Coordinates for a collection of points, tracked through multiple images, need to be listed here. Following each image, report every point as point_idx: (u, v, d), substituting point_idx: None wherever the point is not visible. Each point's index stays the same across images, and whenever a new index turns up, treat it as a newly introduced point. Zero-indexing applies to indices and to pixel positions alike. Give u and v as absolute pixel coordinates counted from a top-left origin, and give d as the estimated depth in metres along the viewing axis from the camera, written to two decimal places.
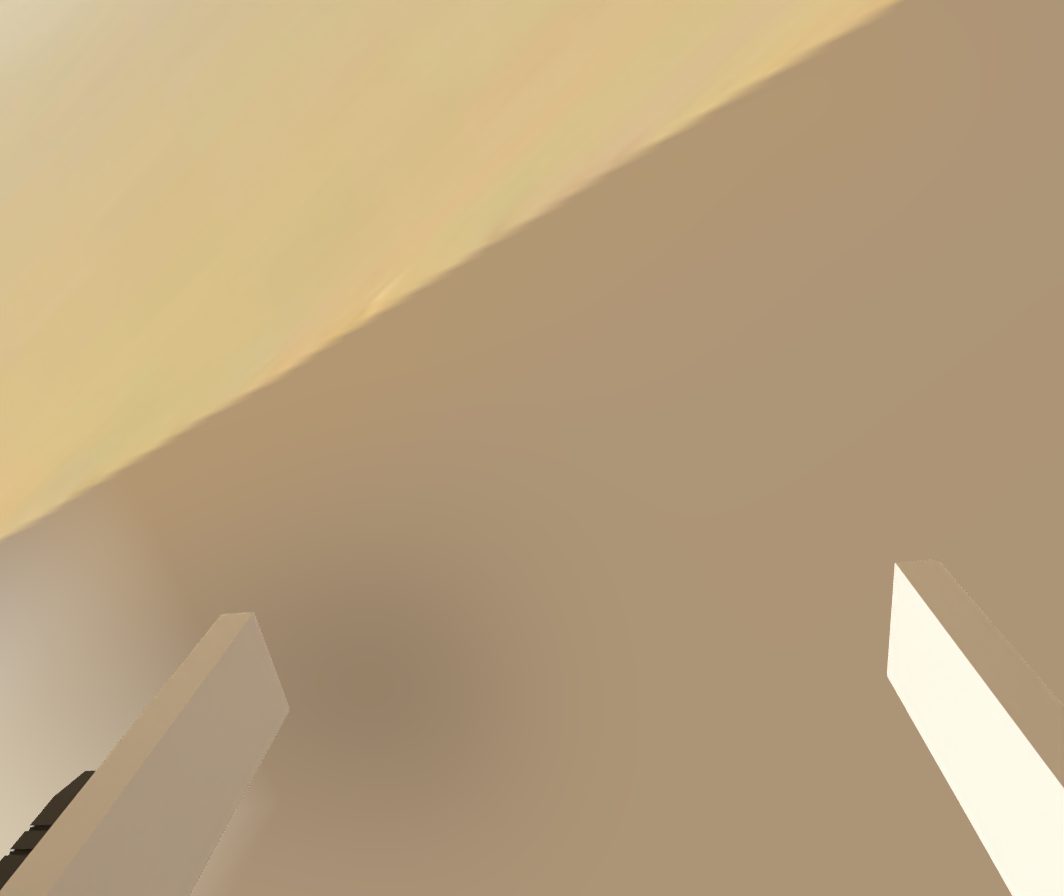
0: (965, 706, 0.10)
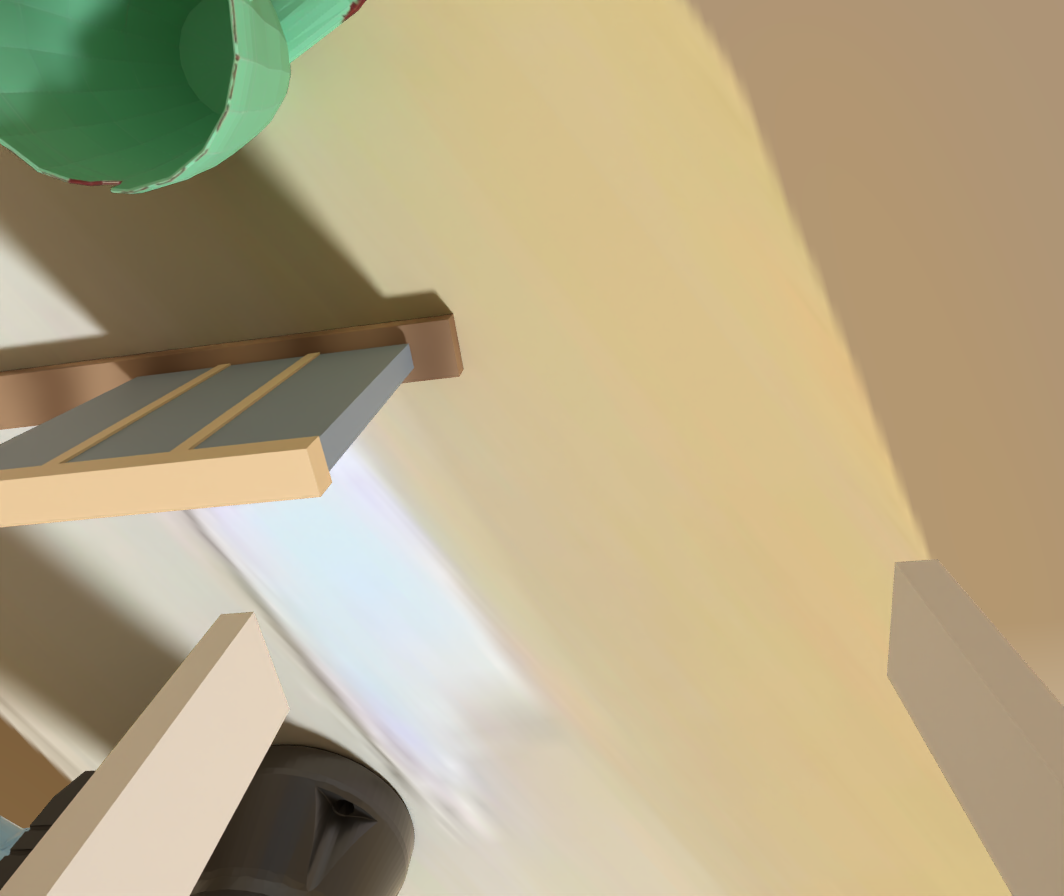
0: (966, 706, 0.10)
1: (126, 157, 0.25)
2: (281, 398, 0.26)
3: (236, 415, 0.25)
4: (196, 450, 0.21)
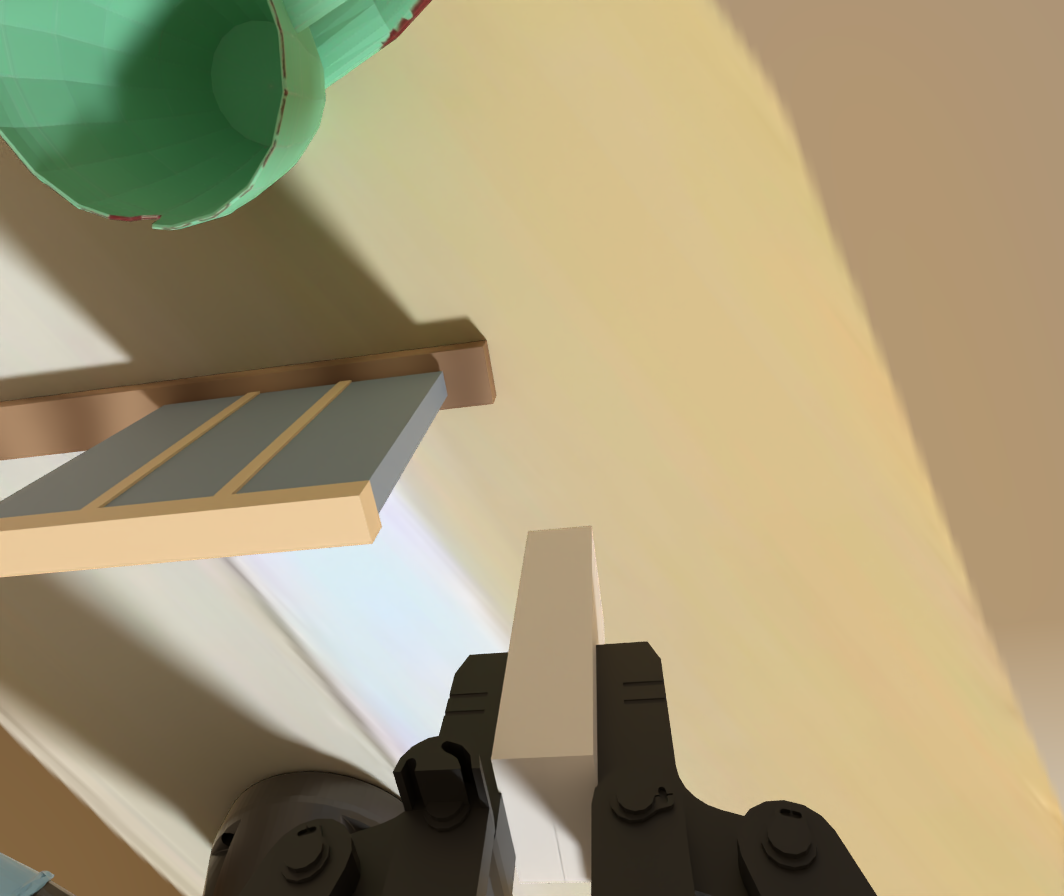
0: None
1: (162, 189, 0.24)
2: (320, 433, 0.26)
3: (276, 453, 0.24)
4: (242, 495, 0.21)
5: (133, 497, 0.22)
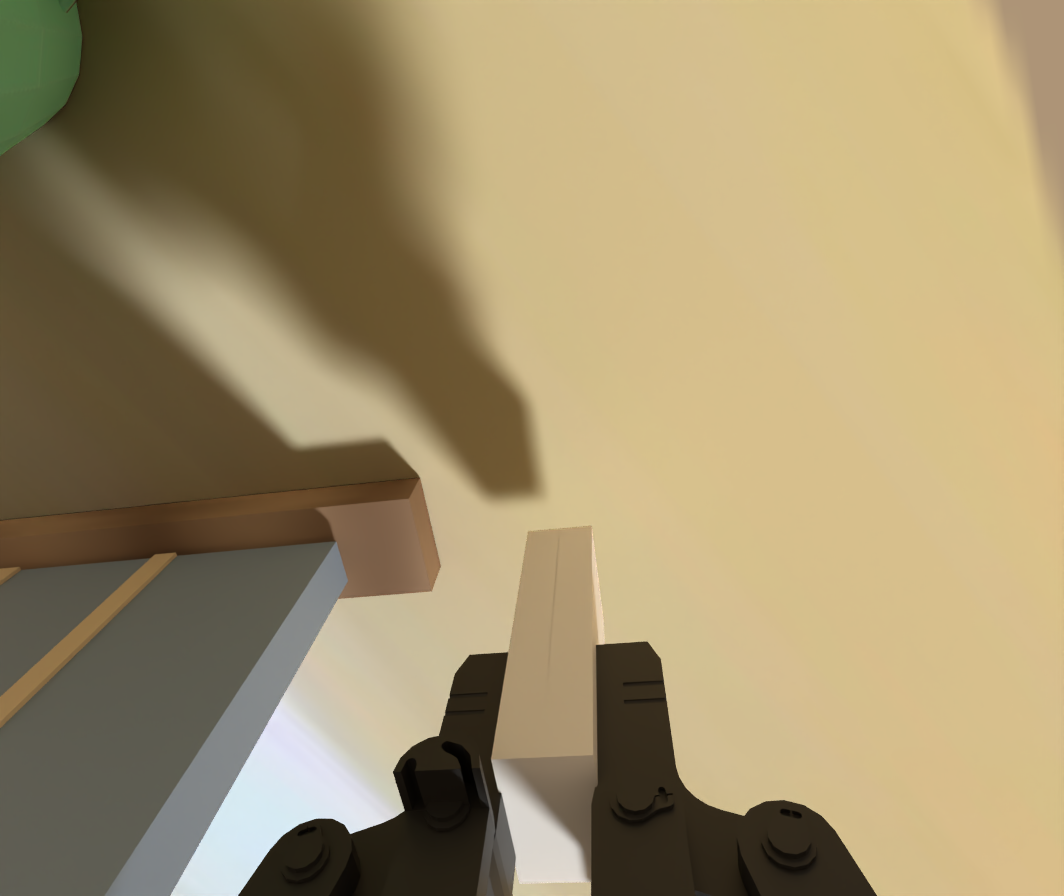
0: None
1: None
2: (9, 767, 0.11)
3: None
4: None
5: None
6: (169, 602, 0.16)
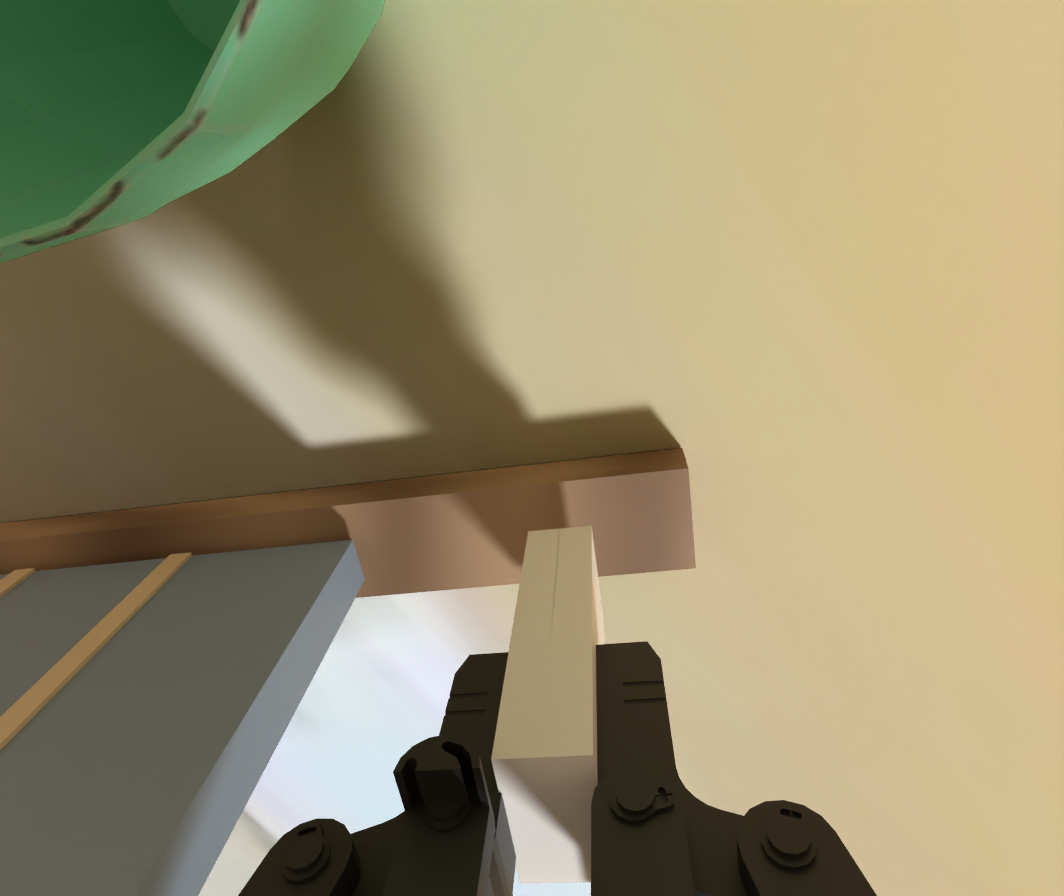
0: None
1: None
2: (31, 769, 0.11)
3: None
4: None
5: None
6: (186, 602, 0.16)
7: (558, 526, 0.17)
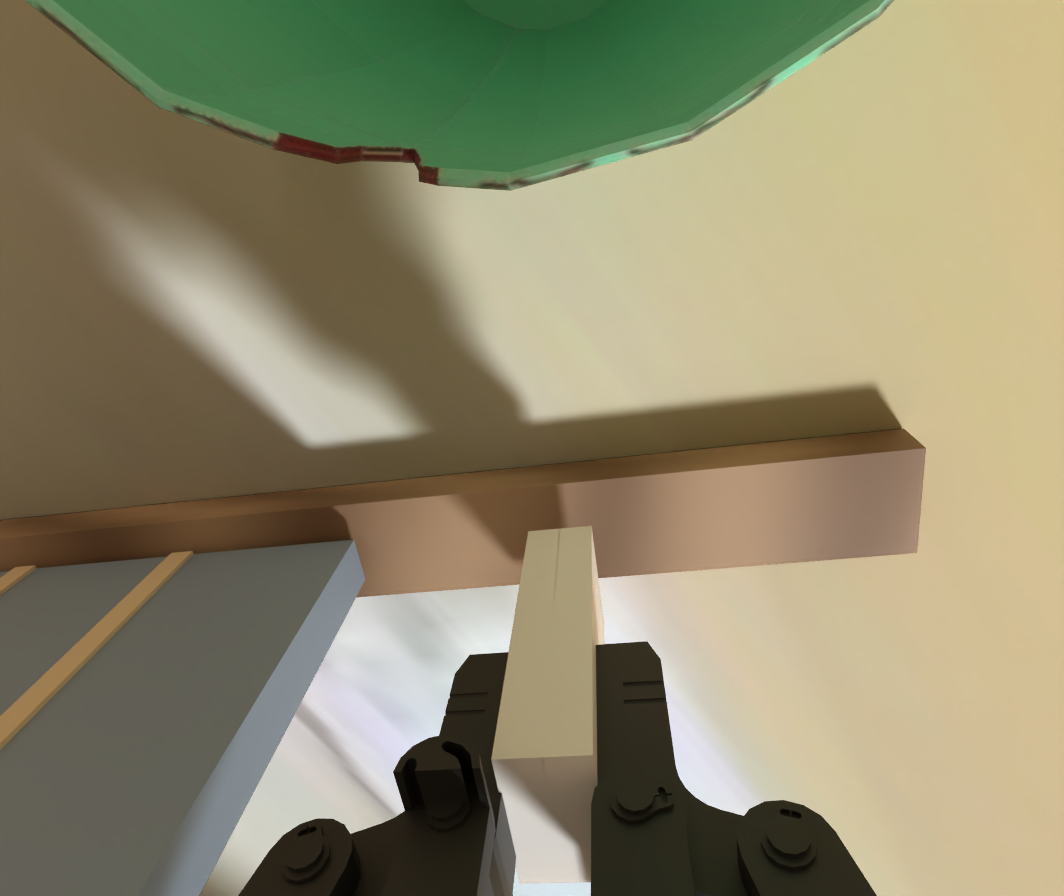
0: None
1: (373, 86, 0.09)
2: (34, 766, 0.11)
3: None
4: None
5: None
6: (188, 601, 0.16)
7: (777, 508, 0.16)
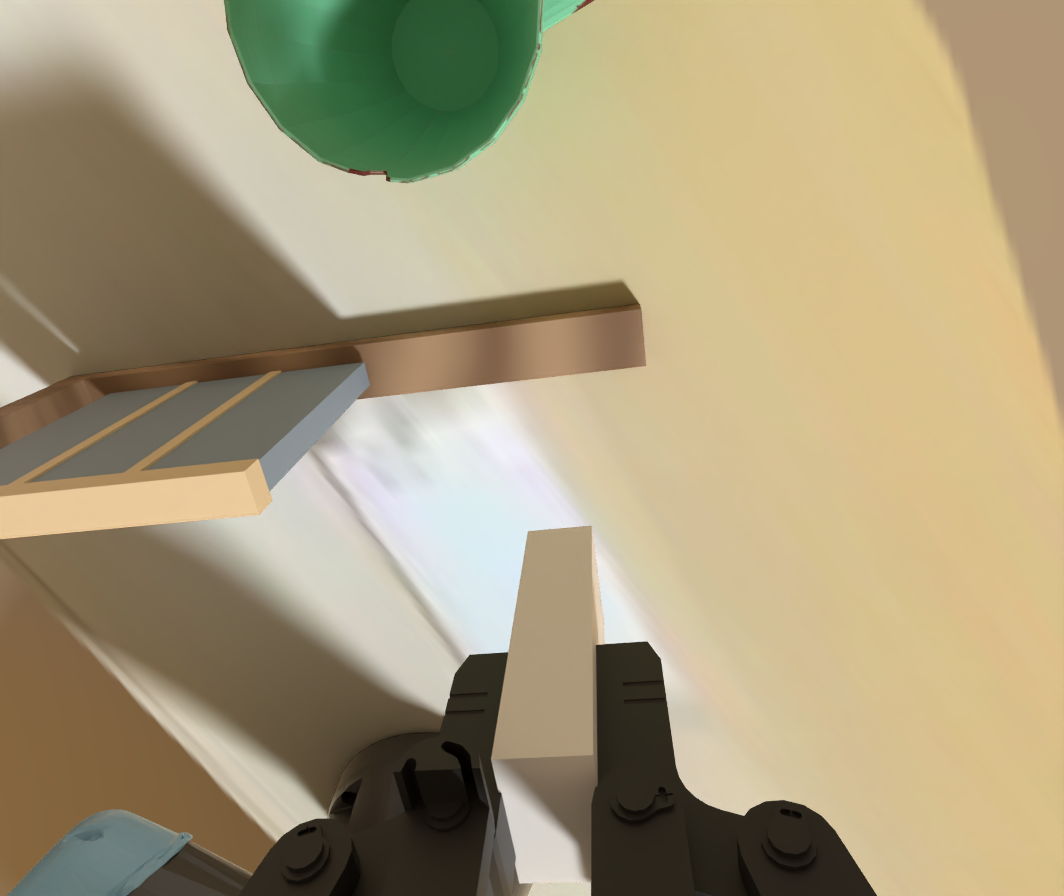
0: None
1: (374, 147, 0.25)
2: (235, 418, 0.28)
3: (191, 435, 0.27)
4: (147, 471, 0.23)
5: (56, 474, 0.25)
6: (284, 383, 0.32)
7: (575, 342, 0.33)
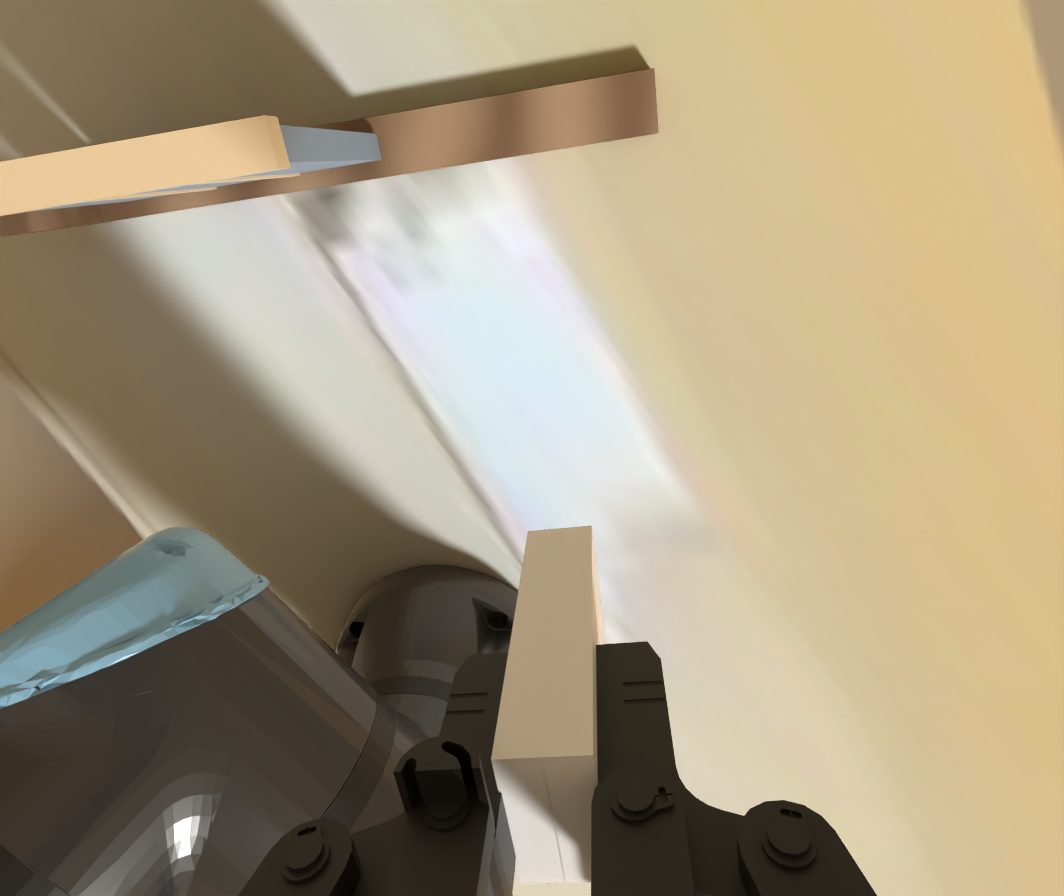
0: None
1: None
2: None
3: None
4: None
5: None
6: None
7: (587, 108, 0.33)
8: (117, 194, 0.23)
